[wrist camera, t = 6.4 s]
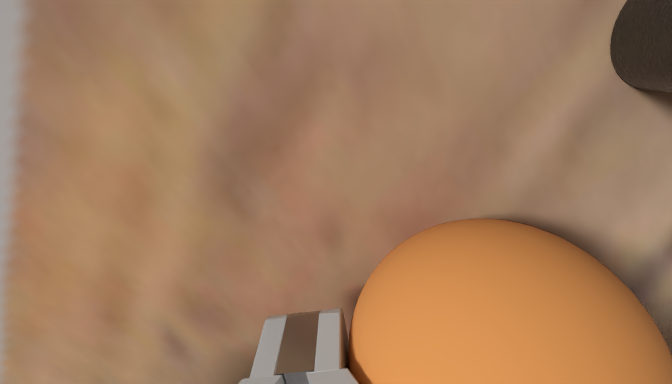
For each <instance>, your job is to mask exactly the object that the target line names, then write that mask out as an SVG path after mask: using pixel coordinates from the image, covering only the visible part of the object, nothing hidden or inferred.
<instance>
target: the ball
mask: <svg viewBox="0 0 672 384" xmlns="http://www.w3.org/2000/svg"><path fill="white" fill-rule="evenodd" d="M348 365H349V371H350V372H351V374H352V375H353V376H354V378H355V379H356V381H357V382H358V383H359V384H672V355H671V353H670V350H669V348H668V345H667V343H666V341H665V340H664V338H663V336H662V334H661V332H660V331H659V329H658V327H657V325H656V323H655V322H654V320H653V319H652V317H651V316H650V315H649V313H648V312H647V311H646V309H645V308H644V307H643V305H642V304H641V303H640V301H639V300H638V299H637V297H636V296H635V295H634V293H633V292H632V291H631V290H630V289H629V288H628V287H627V286H626V285H625V284H624V283H623V282H622V281H621V280H620V279H619V278H618V277H617V276H616V275H615V274H613V273H612V272H611V271H610V270H609V269H608V268H607V267H606V266H604V265H603V264H602V263H600V262H599V261H598V260H597V259H595V258H594V257H593V256H591V255H590V254H588V253H587V252H585V251H583V250H582V249H580V248H578V247H577V246H575V245H573V244H571V243H570V242H568V241H566V240H564V239H563V238H561V237H558V236H556V235H553V234H551V233H548V232H546V231H543V230H541V229H538V228H535V227H533V226H529V225H525V224H521V223H517V222H511V221H506V220H497V219H466V220H458V221H451V222H447V223H443V224H439V225H436V226H434V227H431V228H428V229H426V230H424V231H422V232H420V233H418V234H416V235H414V236H412V237H410V238H408V239H407V240H405V241H404V242H402V243H401V244H399V245H398V246H397V247H396V248H395V249H393V250H392V251H391V252H390V253H389V254H388V255H387V256H386V257H385V258H384V259H383V260H382V261H381V262H380V263H379V265H378V266H377V267H376V269H375V270H374V271H373V273H372V274H371V276H370V277H369V279H368V281H367V282H366V284H365V286H364V287H363V289H362V292H361V294H360V296H359V298H358V301H357V304H356V308H355V311H354V314H353V318H352V321H351V327H350V333H349V345H348Z"/></svg>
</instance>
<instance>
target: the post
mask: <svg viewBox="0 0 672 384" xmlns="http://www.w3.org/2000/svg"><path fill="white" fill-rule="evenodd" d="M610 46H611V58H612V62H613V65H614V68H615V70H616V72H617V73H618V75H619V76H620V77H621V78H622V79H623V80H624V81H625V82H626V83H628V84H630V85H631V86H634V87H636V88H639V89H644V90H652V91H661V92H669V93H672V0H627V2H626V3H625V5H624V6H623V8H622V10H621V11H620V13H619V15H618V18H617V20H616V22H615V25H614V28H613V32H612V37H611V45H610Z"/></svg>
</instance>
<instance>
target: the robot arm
mask: <svg viewBox="0 0 672 384" xmlns="http://www.w3.org/2000/svg"><path fill="white" fill-rule="evenodd" d="M348 345H349V340H348V335H347V330H346V324H345V319H344V314H343V311H342V309H341V308H336V309H328V310H321V311H314V312H304V313H293V314H288V315H275V316H268V318H267V319H266V321H265V323H264V327H263V330H262V334H261V338H260V341H259V345H258V348H257V352H256V356H255V359H254V363H253V366H252V370H251V374H250V377H249V378H245V379H242V380H241V381H240V382H239V383H238V384H359V383H358V382H357V381H356V379H355V378H354V376H353V375H352V374H351V372H350V371H349V365H348Z"/></svg>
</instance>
